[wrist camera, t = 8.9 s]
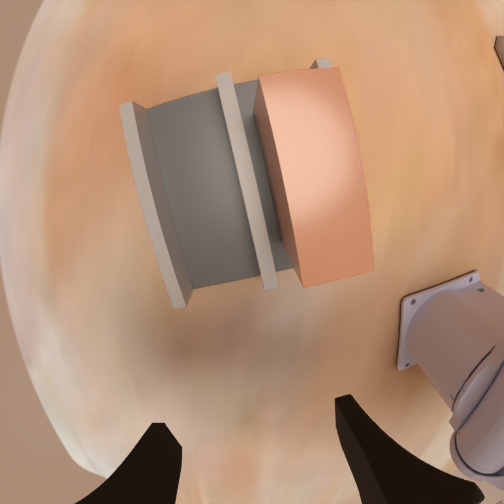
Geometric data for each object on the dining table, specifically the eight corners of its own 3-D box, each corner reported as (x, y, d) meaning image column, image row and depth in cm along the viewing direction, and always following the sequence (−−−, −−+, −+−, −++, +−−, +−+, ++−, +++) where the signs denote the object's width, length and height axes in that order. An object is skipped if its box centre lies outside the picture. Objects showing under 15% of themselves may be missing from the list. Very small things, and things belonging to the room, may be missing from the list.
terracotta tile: (327, 231, 17) (374, 270, 10) (280, 241, 17) (303, 288, 10) (301, 105, 15) (338, 67, 8) (252, 113, 15) (258, 75, 8)
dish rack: (314, 76, 15) (329, 58, 12) (348, 249, 18) (368, 266, 15) (140, 115, 15) (119, 105, 12) (184, 285, 19) (173, 309, 16)
